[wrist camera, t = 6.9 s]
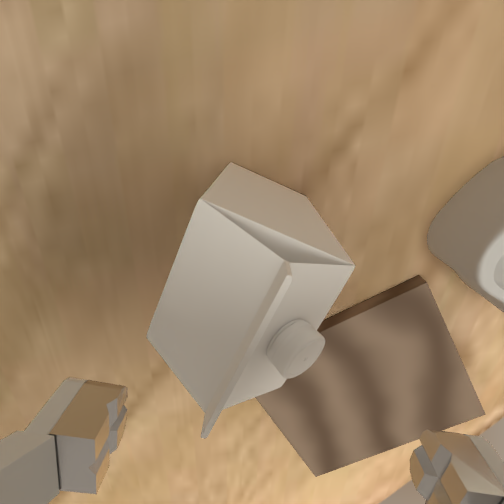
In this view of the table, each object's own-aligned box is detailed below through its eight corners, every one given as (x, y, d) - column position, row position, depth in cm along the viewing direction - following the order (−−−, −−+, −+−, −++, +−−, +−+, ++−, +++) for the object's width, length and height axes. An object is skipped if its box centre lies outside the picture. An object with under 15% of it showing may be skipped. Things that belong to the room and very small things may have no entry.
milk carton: (199, 235, 29) (106, 407, 11) (229, 161, 26) (172, 227, 9) (271, 265, 30) (291, 468, 12) (306, 195, 27) (397, 320, 10)
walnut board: (313, 464, 39) (315, 476, 38) (236, 361, 34) (235, 371, 32) (476, 403, 35) (485, 414, 34) (418, 275, 30) (426, 282, 28)
